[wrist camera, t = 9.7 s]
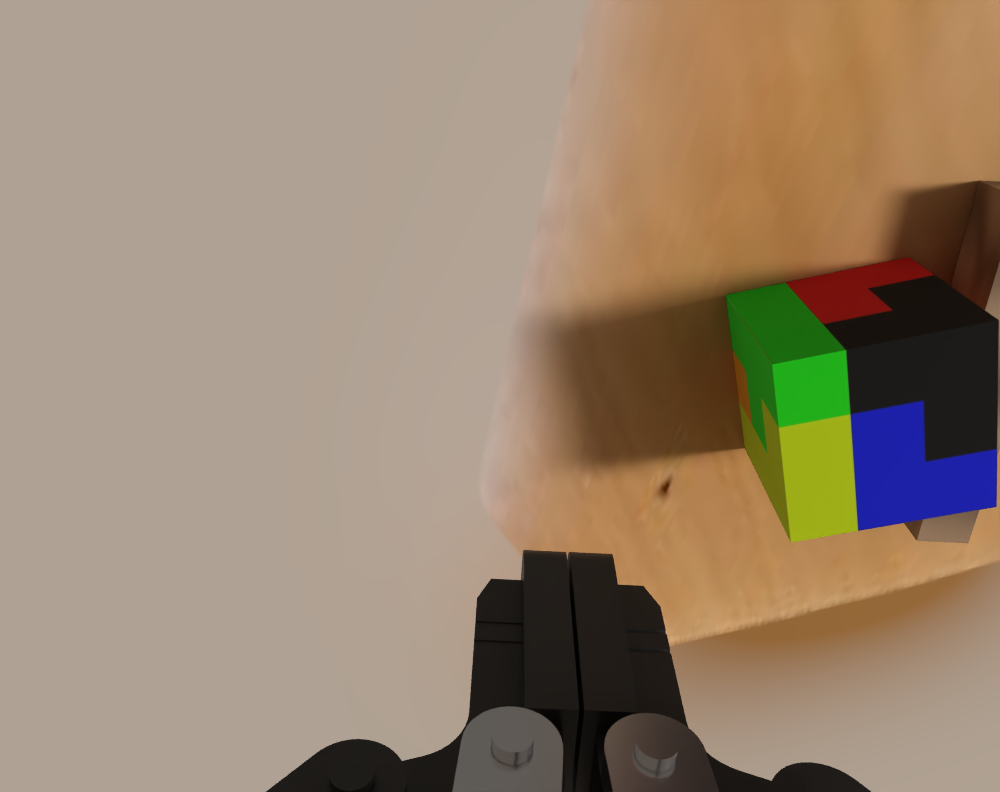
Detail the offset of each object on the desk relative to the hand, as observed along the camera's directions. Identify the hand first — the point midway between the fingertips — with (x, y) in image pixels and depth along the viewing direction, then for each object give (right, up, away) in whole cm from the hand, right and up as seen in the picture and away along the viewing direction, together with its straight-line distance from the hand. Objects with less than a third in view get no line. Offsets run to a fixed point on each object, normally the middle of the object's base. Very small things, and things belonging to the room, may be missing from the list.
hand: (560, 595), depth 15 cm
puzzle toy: (+18, +6, +36) cm, 40 cm away
